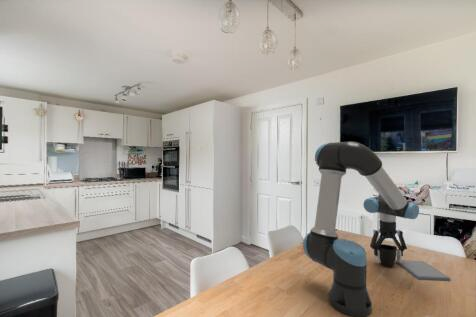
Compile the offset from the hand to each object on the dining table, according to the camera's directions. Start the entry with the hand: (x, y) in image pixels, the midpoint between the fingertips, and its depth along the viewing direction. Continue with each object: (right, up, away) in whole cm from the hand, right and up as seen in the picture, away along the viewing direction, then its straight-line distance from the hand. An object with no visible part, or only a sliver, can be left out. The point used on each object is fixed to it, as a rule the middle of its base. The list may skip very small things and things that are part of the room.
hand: (388, 261), depth 124 cm
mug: (+1, -2, 0) cm, 2 cm away
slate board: (+12, -1, -7) cm, 14 cm away
